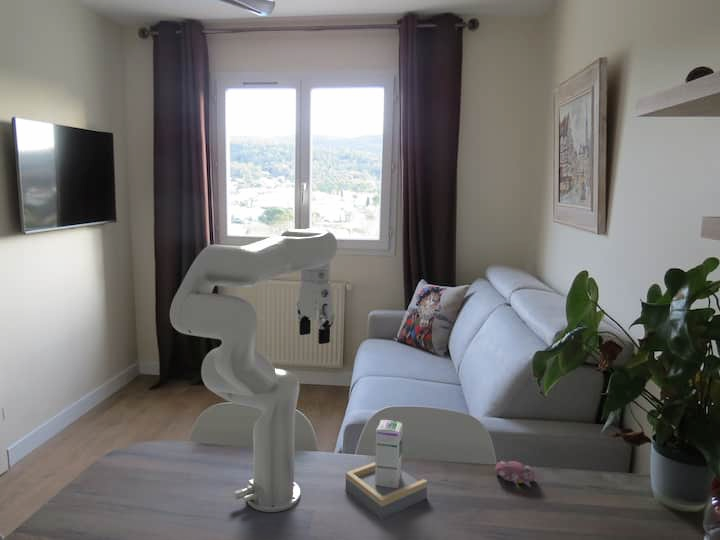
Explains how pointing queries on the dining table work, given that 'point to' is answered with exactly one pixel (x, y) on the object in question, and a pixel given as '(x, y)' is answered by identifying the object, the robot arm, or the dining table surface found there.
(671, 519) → the dining table surface
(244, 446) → the dining table surface
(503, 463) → the pink toy figure
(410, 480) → the tray
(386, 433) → the syrup box
